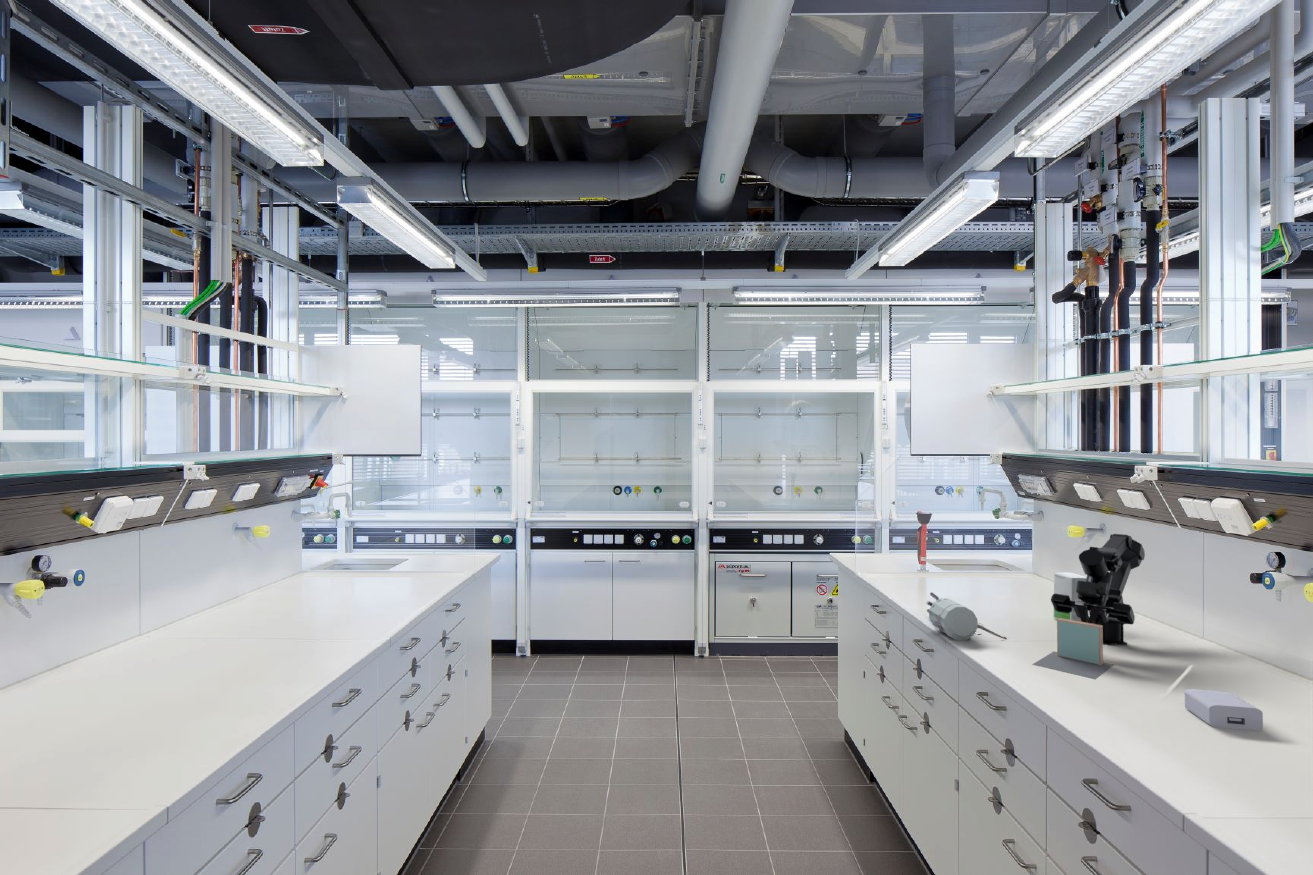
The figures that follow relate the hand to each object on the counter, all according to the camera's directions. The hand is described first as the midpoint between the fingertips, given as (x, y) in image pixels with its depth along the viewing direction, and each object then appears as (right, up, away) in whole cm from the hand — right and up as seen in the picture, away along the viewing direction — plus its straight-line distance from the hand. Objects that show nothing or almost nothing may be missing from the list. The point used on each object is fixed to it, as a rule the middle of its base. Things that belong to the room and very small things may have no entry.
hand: (1085, 633), depth 172 cm
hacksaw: (-13, -8, +24) cm, 28 cm away
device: (-26, -7, +30) cm, 40 cm away
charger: (+3, -6, -36) cm, 37 cm away
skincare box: (+20, -7, +35) cm, 41 cm away
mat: (-8, -6, -7) cm, 12 cm away
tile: (-4, -6, -3) cm, 8 cm away
